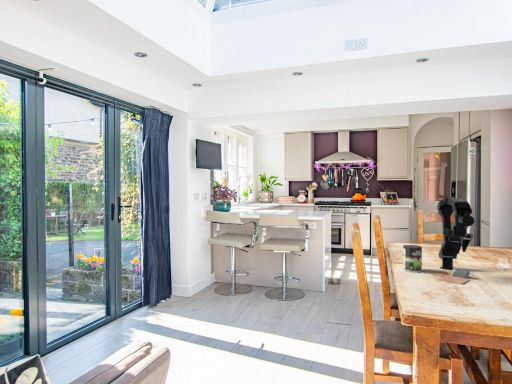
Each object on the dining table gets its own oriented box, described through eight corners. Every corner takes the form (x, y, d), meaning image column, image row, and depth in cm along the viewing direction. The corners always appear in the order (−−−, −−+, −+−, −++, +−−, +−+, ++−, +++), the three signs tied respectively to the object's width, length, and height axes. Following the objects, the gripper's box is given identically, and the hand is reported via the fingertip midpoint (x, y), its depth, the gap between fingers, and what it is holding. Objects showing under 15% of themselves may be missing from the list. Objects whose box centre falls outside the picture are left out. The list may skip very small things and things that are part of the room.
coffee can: (425, 271, 211) (426, 247, 210) (410, 272, 208) (410, 248, 208) (413, 267, 221) (413, 244, 220) (399, 268, 218) (399, 245, 218)
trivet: (445, 276, 199) (445, 275, 199) (470, 280, 190) (470, 279, 190) (436, 280, 191) (436, 278, 191) (461, 284, 182) (461, 283, 182)
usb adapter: (451, 276, 200) (451, 268, 200) (454, 274, 203) (454, 267, 203) (471, 279, 193) (471, 271, 193) (474, 278, 195) (474, 270, 195)
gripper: (451, 222, 210) (451, 249, 210) (438, 224, 198) (437, 253, 198) (473, 223, 202) (473, 251, 202) (460, 226, 189) (460, 256, 190)
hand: (460, 253), depth 198 cm, fingers open, 9 cm apart
